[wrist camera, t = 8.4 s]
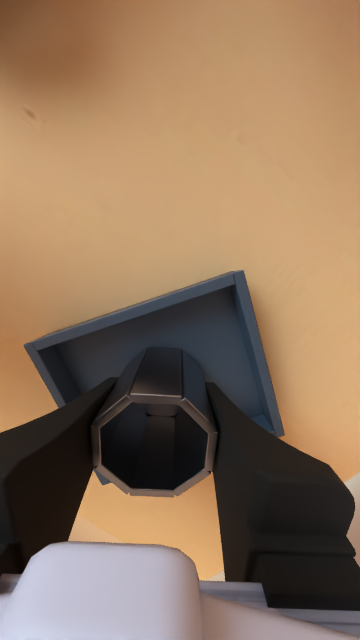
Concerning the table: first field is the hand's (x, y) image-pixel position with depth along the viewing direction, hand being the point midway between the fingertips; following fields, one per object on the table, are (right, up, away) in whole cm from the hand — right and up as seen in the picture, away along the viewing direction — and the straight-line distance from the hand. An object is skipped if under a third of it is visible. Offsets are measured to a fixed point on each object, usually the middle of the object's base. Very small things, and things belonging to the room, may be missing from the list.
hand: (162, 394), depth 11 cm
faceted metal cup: (0, 0, +1) cm, 1 cm away
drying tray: (0, +1, +2) cm, 2 cm away
